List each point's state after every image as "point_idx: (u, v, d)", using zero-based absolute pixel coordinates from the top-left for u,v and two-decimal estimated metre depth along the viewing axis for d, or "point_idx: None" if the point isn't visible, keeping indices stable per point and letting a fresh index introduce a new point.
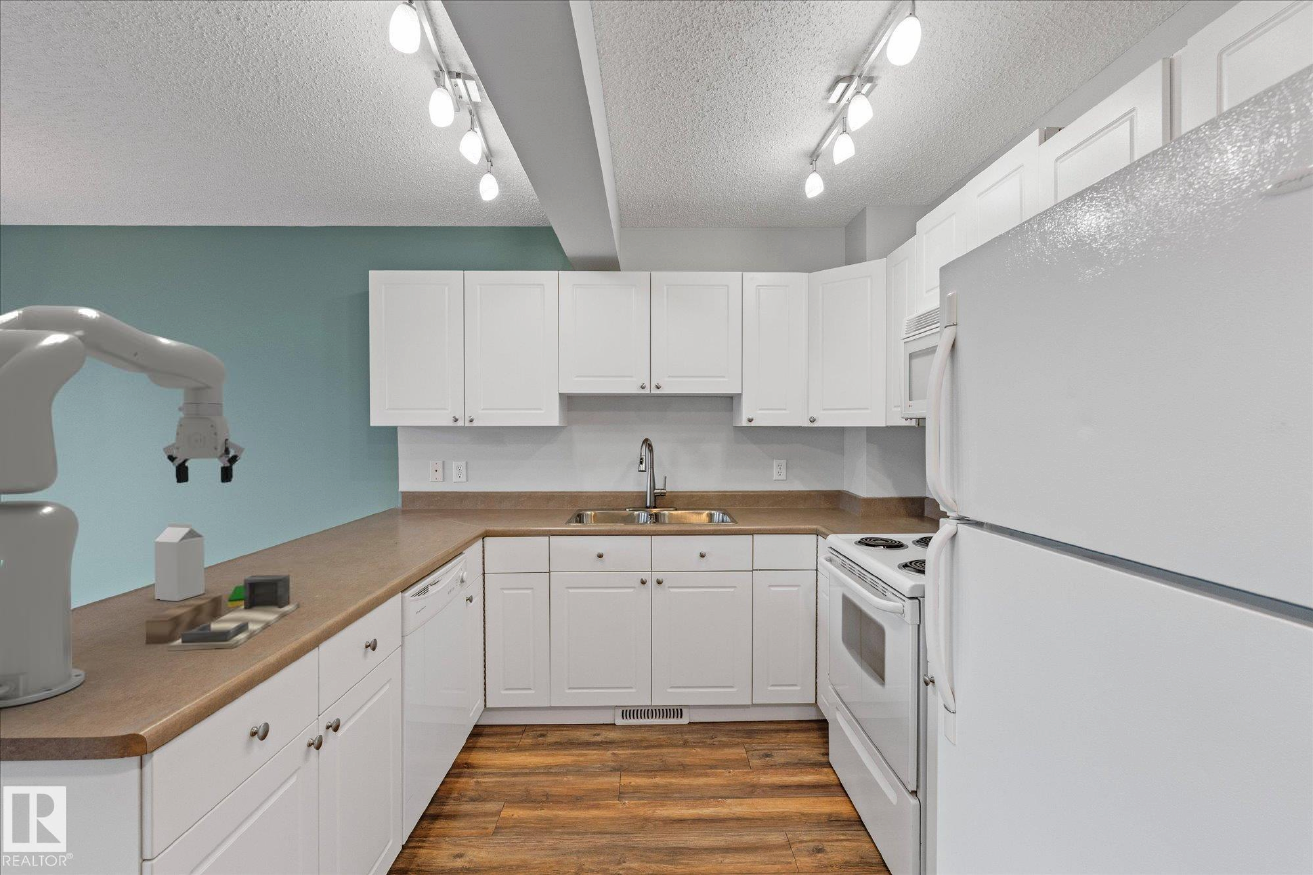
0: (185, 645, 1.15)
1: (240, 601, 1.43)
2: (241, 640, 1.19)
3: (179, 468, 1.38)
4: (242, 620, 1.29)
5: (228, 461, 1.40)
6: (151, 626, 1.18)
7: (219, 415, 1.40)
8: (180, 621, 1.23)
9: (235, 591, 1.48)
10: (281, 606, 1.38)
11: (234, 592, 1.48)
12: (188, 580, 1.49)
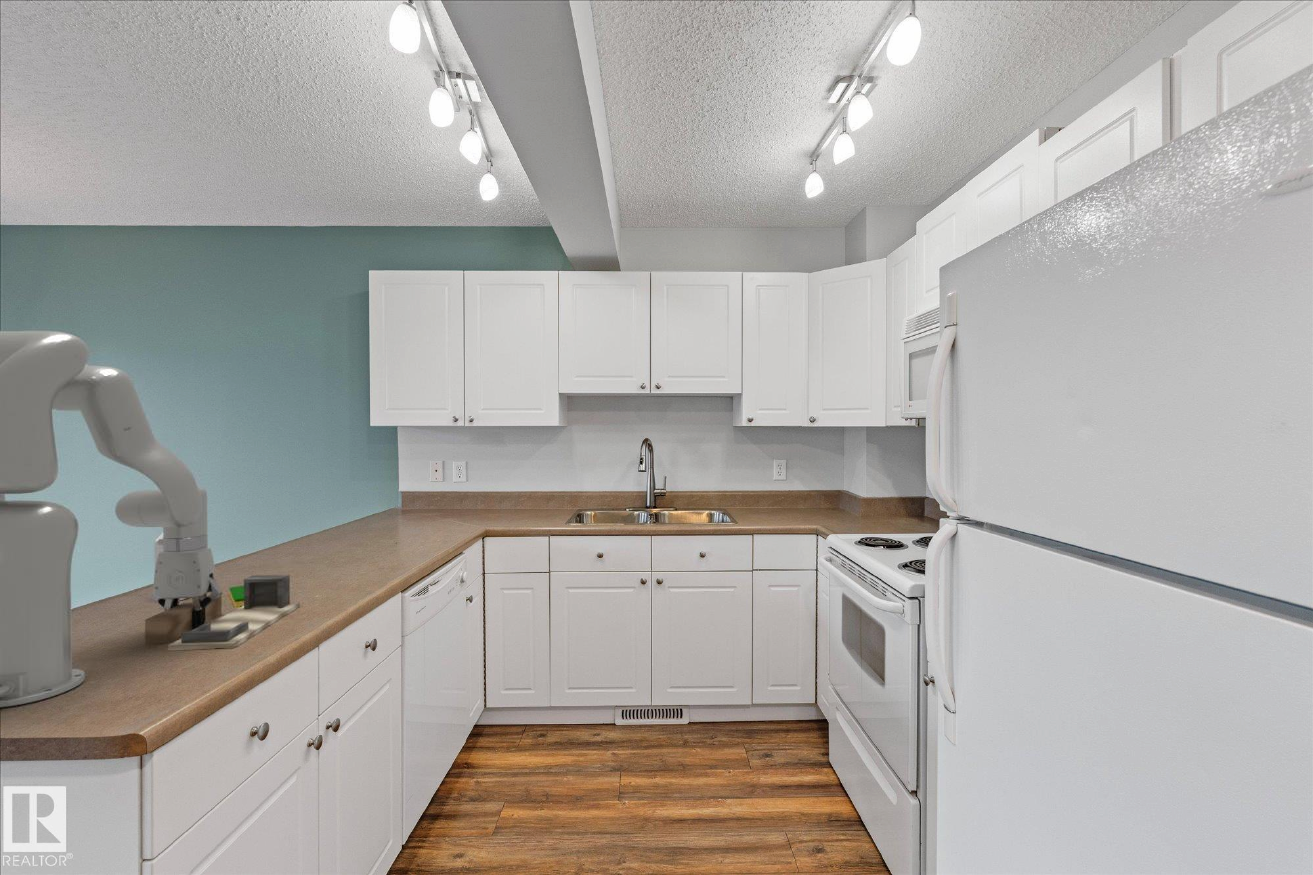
0: (185, 645, 1.15)
1: None
2: (241, 640, 1.19)
3: None
4: (242, 620, 1.29)
5: (201, 606, 1.27)
6: (150, 625, 1.18)
7: (203, 548, 1.27)
8: (180, 620, 1.22)
9: (234, 592, 1.48)
10: (281, 606, 1.38)
11: (234, 593, 1.47)
12: None
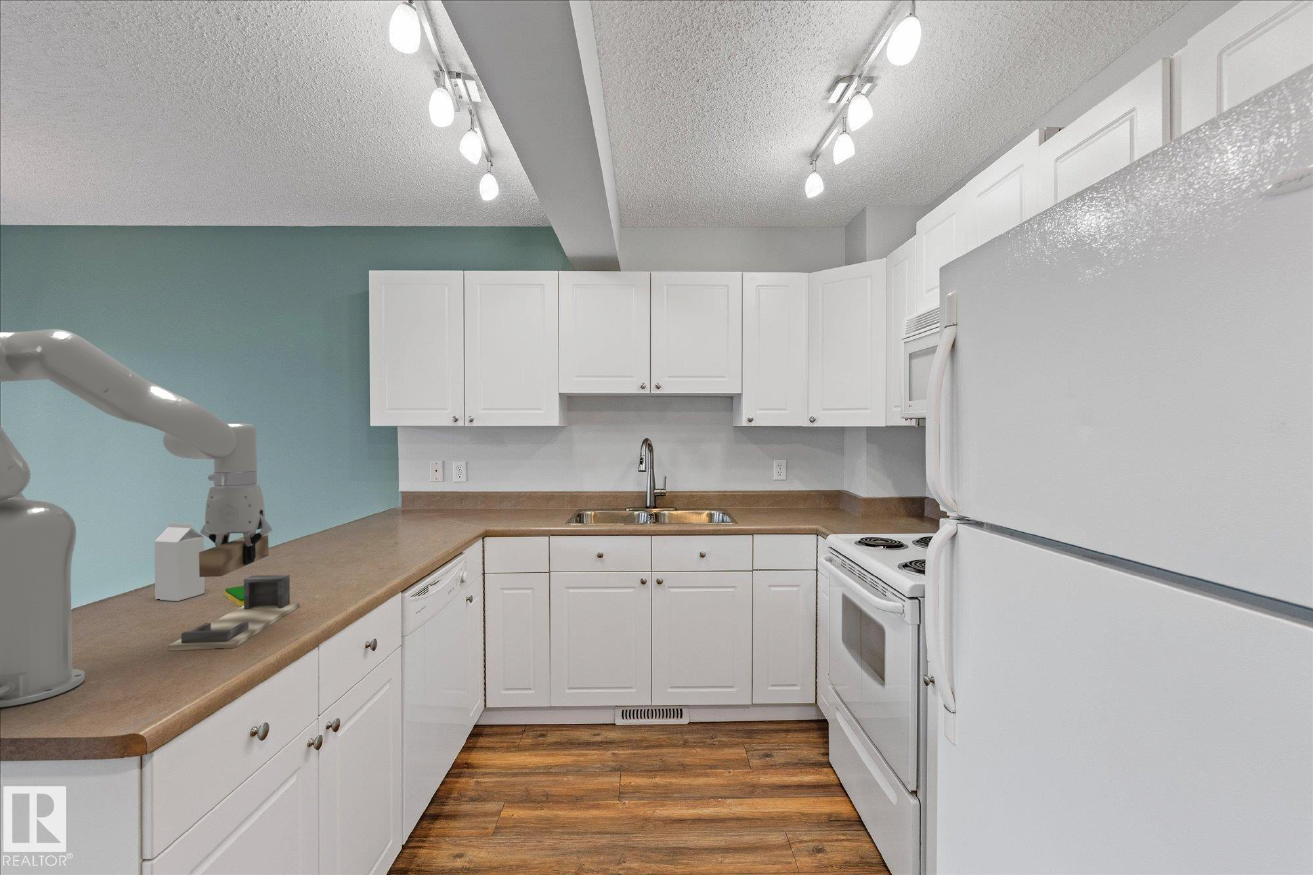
0: (185, 645, 1.15)
1: None
2: (241, 640, 1.19)
3: None
4: (242, 620, 1.29)
5: (252, 542, 1.26)
6: (204, 558, 1.18)
7: (253, 484, 1.27)
8: (232, 555, 1.22)
9: (234, 592, 1.47)
10: (281, 606, 1.38)
11: (235, 593, 1.47)
12: (188, 580, 1.49)
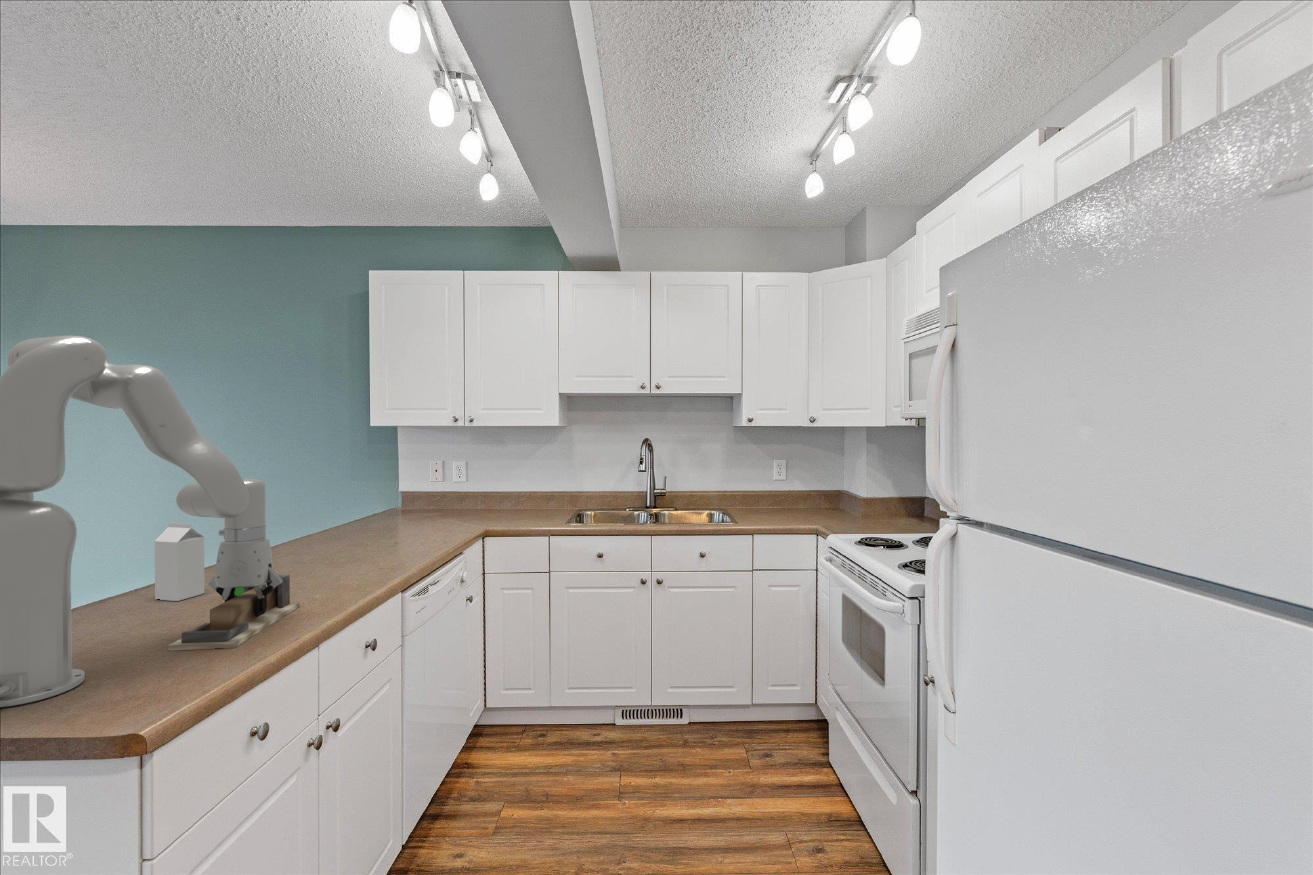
0: (185, 645, 1.15)
1: None
2: (241, 640, 1.19)
3: None
4: None
5: (263, 594, 1.30)
6: (215, 615, 1.21)
7: (262, 538, 1.30)
8: (241, 611, 1.26)
9: None
10: (281, 606, 1.38)
11: (236, 593, 1.46)
12: (188, 580, 1.49)
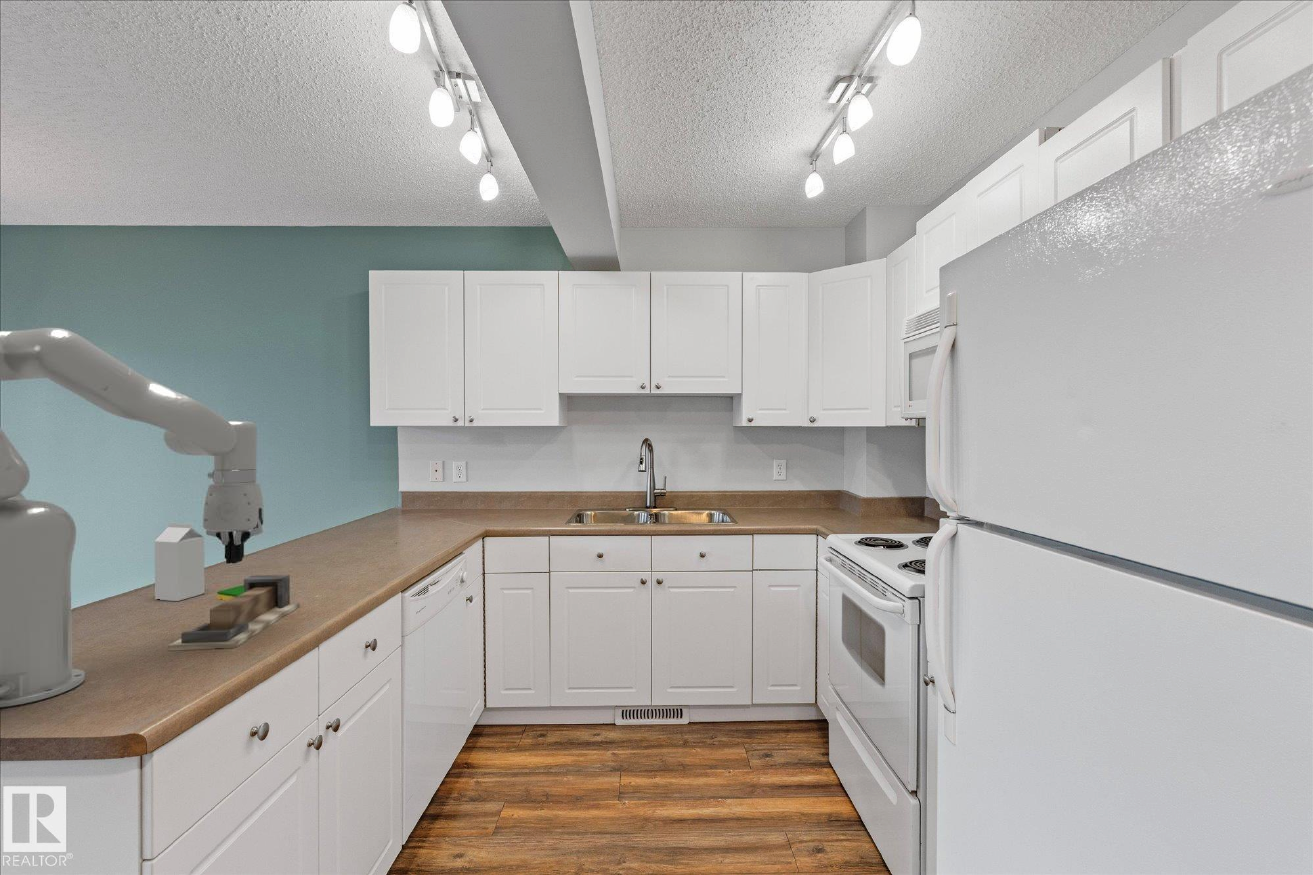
0: (185, 645, 1.15)
1: None
2: (241, 640, 1.19)
3: (229, 547, 1.25)
4: None
5: (241, 541, 1.26)
6: (215, 615, 1.21)
7: (252, 482, 1.27)
8: (241, 611, 1.26)
9: (235, 593, 1.47)
10: (281, 606, 1.38)
11: (237, 593, 1.46)
12: (188, 580, 1.49)
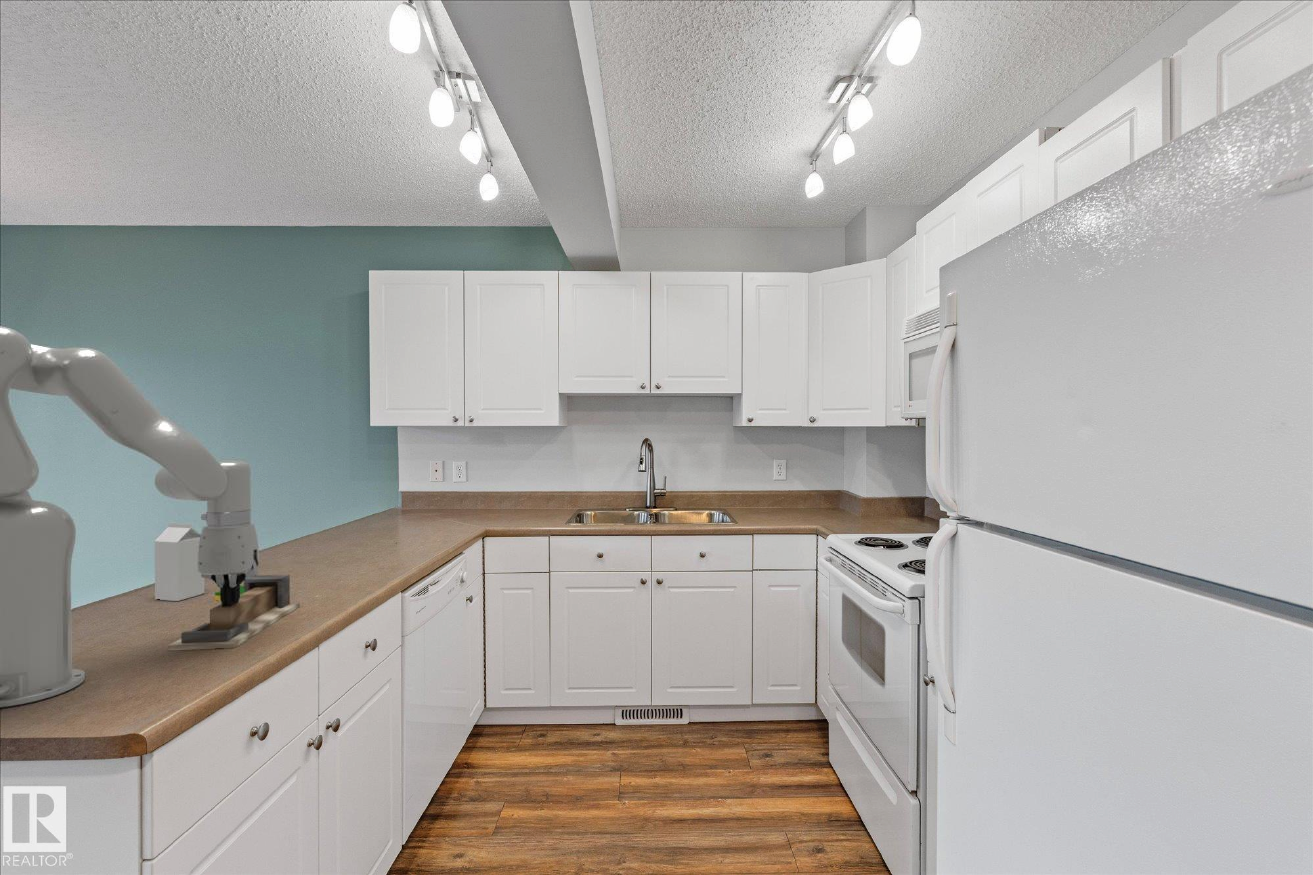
0: (185, 645, 1.15)
1: None
2: (241, 640, 1.19)
3: (224, 590, 1.23)
4: None
5: (236, 583, 1.24)
6: (215, 615, 1.21)
7: (247, 523, 1.24)
8: (241, 611, 1.26)
9: None
10: (281, 606, 1.38)
11: None
12: (188, 580, 1.49)
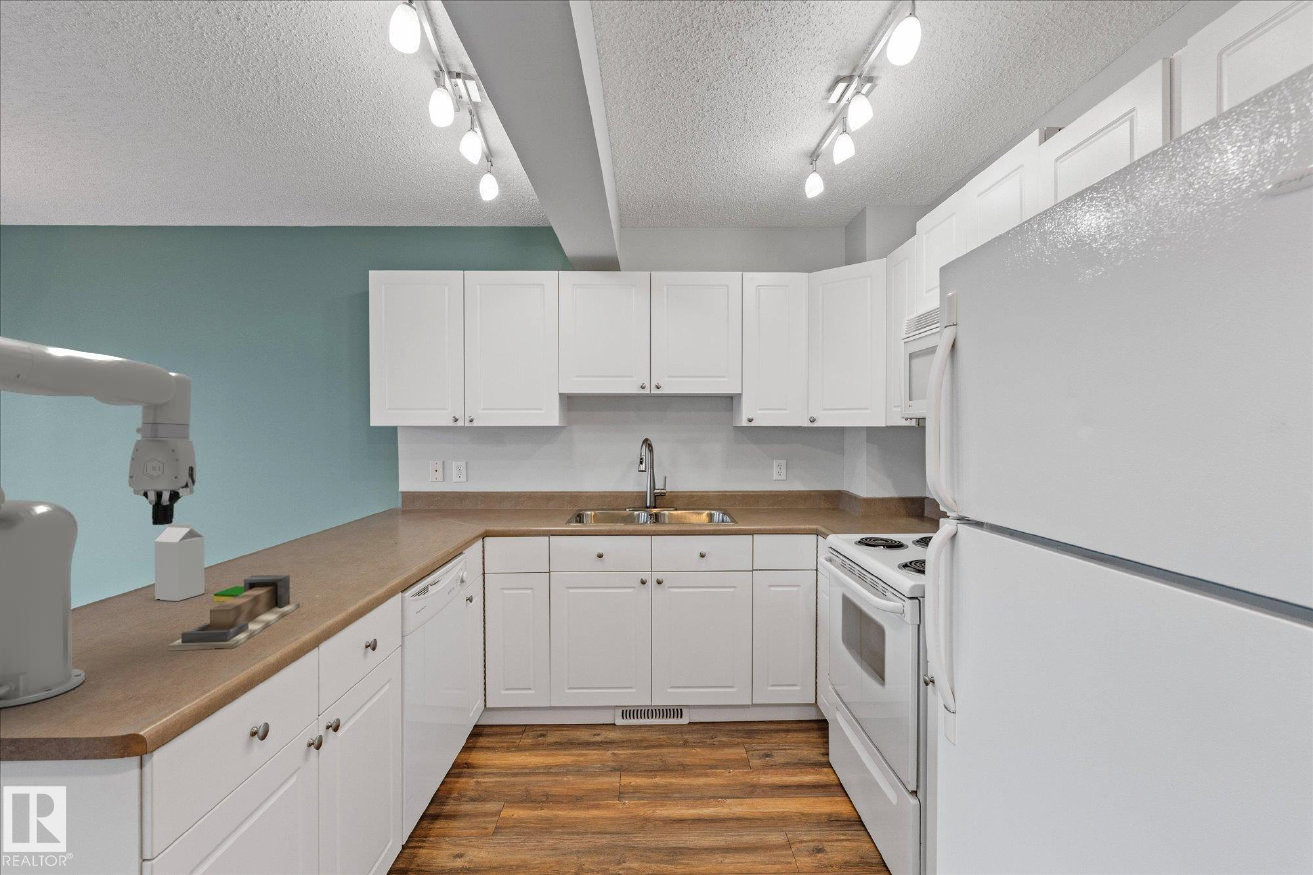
0: (185, 645, 1.15)
1: None
2: (241, 640, 1.19)
3: (156, 507, 1.16)
4: None
5: (169, 501, 1.17)
6: (215, 615, 1.21)
7: (183, 438, 1.18)
8: (241, 611, 1.26)
9: (237, 593, 1.46)
10: (281, 606, 1.38)
11: (240, 593, 1.46)
12: (188, 580, 1.49)
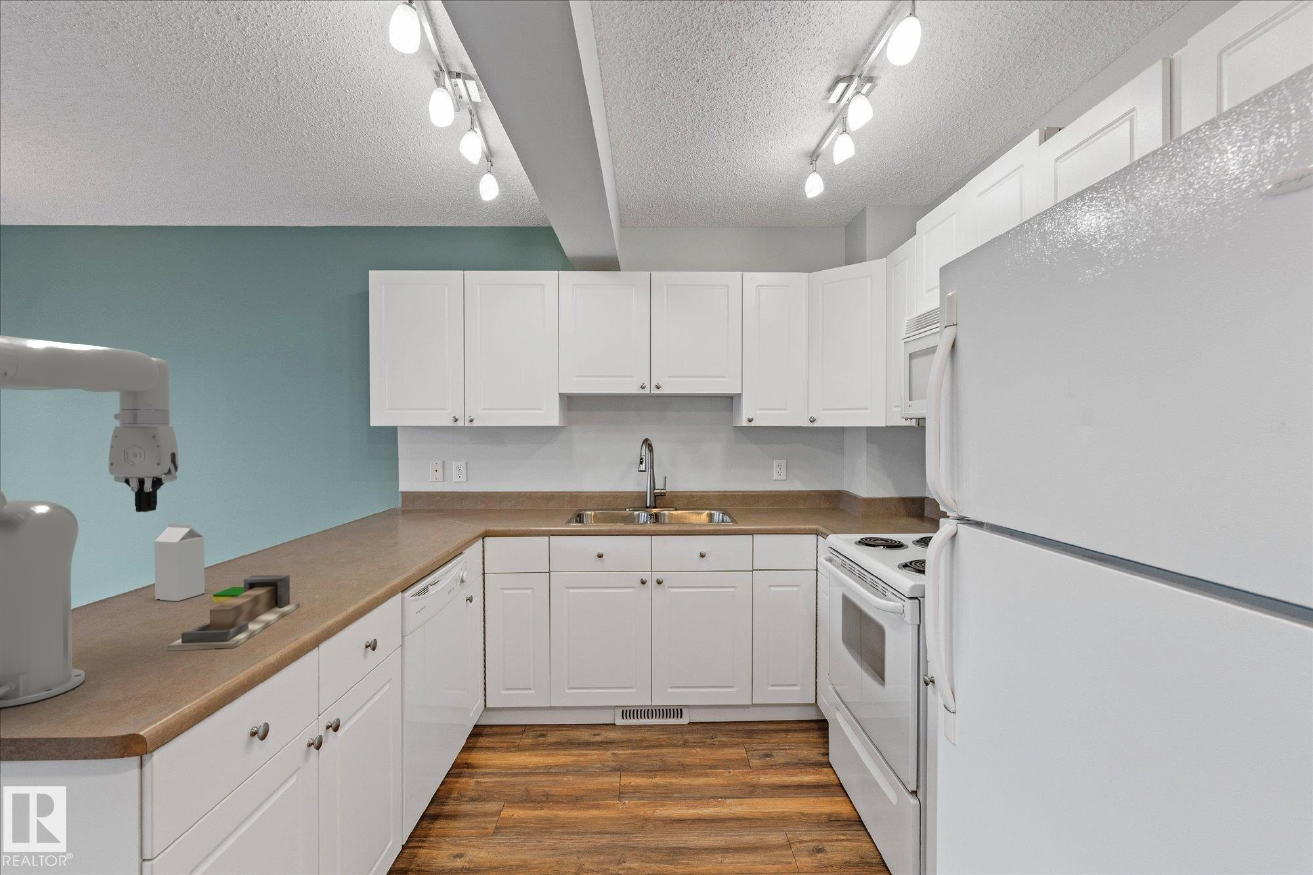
0: (185, 645, 1.15)
1: None
2: (241, 640, 1.19)
3: (139, 494, 1.15)
4: None
5: (152, 488, 1.16)
6: (215, 615, 1.21)
7: (164, 424, 1.16)
8: (241, 611, 1.26)
9: (238, 593, 1.46)
10: (281, 606, 1.38)
11: (241, 593, 1.46)
12: (188, 580, 1.49)
